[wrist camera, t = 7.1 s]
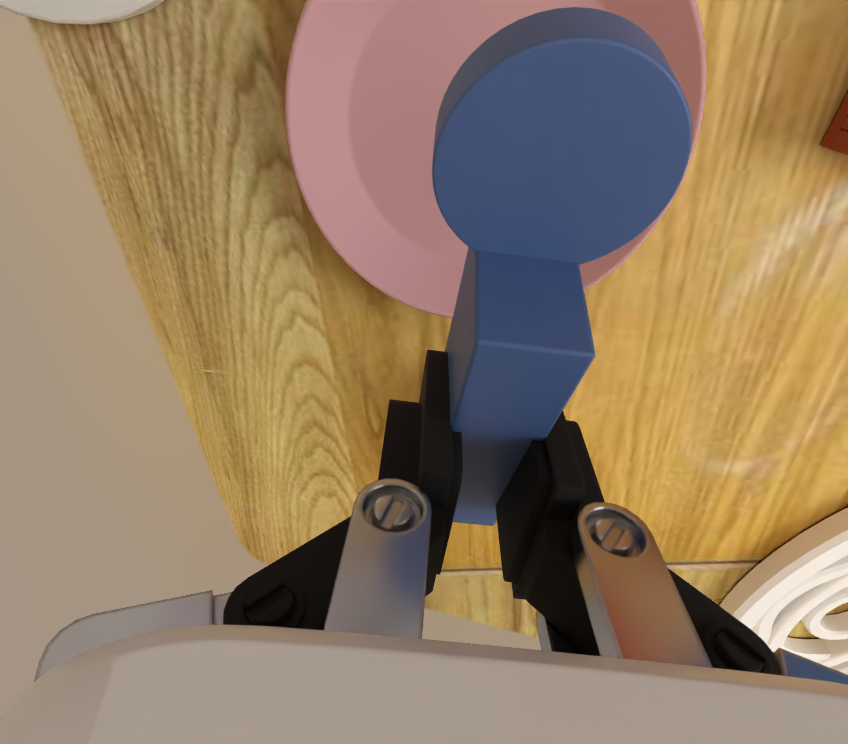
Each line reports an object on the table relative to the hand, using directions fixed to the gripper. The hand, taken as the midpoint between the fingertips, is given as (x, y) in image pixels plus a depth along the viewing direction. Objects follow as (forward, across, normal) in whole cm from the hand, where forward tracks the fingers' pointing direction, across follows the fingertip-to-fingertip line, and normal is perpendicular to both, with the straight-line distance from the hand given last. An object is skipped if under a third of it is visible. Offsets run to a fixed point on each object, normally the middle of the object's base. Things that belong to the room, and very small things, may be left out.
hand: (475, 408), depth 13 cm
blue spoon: (0, 0, -3) cm, 3 cm away
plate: (+12, 0, -4) cm, 13 cm away
